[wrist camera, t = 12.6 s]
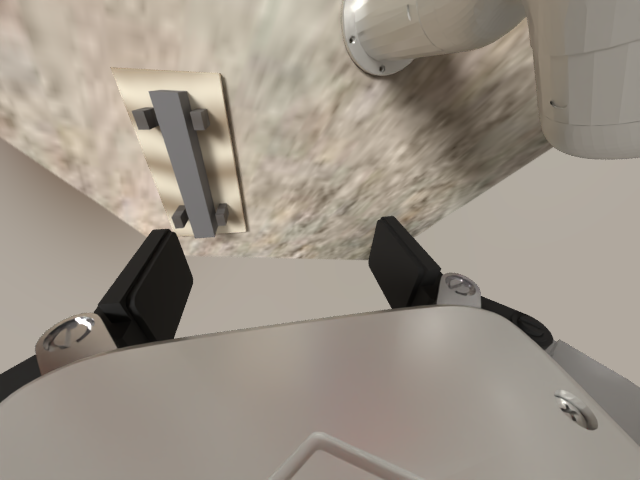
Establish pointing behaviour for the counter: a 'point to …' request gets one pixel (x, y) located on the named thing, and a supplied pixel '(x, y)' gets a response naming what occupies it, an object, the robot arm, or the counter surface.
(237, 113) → the counter surface
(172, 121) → the bar
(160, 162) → the clip board
